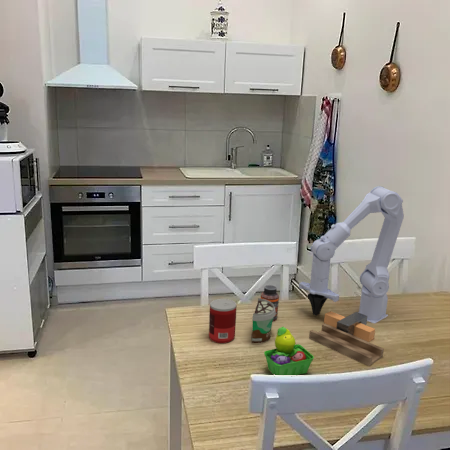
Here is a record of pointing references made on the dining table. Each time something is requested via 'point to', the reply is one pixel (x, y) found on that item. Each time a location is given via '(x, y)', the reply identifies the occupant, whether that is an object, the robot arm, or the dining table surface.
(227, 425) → the dining table surface
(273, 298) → the supplement bottle
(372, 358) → the tray
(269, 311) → the food container
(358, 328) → the shaft
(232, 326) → the canned food
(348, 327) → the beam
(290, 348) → the fruit basket
